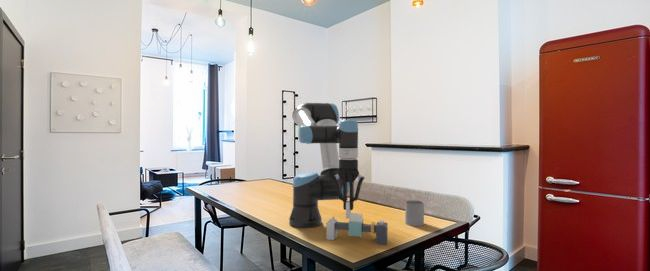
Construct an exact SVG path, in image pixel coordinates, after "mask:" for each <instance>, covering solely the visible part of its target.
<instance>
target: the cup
mask: <svg viewBox="0 0 650 271" xmlns="http://www.w3.org/2000/svg"><path fill="white" fill-rule="evenodd" d="M404 203H405V205H404V206H405V219H404V220H405V221H404V223H405V224H406V225H408V226H411V227H422V226H424V225H425V202H423V201H421V200H412V199H411V200H406V201H405V202H404Z"/></svg>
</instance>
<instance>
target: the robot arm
mask: <svg viewBox="0 0 650 271" xmlns="http://www.w3.org/2000/svg"><path fill="white" fill-rule="evenodd" d="M339 114H340V113H339V109H338V107H337V105H336V104H335V103H331V102H304V103H302V104H299V105H297V106H296V107H295V108H294V110H293V112H292V119H293V122H294V123H295V124H296V125H297V126H298V141H299V143H300V144H307V145H308V144H309V145H310V144H319V147H320V156H321V165H322V170H321V171H320V172H319V173H318V172H313V171H312V172H311V171H310V172H303V173H300V174H296V175H295V176H294V177H293V178H292V179H293V181H292V209H291V212H290V215H289V218H288V221H289V225H290V226H292V227H294V228H295V227H296V228H300V229H301V228H304V229H307V228H314V227H319V226H320V225H322V223H323V222H322V220H323V219H322V215H321V212H320V209H319V201H333V200H335V201H336V200H339V201H342V202H343V210H344V211H345V219H347V220H350V214H351V213H352V211H353V210H354V202H357V201H358V200H359V196H360V193H361V188H362V185H363V182H364V180H365V175H364V176H362V174H360V172H359V159H358V158H359V124H358V121H357V120H355V119H342V120H340V117H339ZM338 144H339V145H338ZM338 147H339V148H338ZM356 180H358V181H357V185H356V190H355V189H354V188H355V186H354V185H355V181H356ZM354 192H355V194H354ZM348 195H349V198H348ZM348 199H349V200H348Z"/></svg>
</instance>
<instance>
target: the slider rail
mask: <svg viewBox="0 0 650 271" xmlns="http://www.w3.org/2000/svg"><path fill="white" fill-rule="evenodd" d="M388 225H389V224H388V222H385V221H384V220H379V221H377V222H375V221H372V222H371V224H368V223H363V224H362V232H363V233H370V236H375V244H376V245H382V246H383V245H385V246H387V244H388V241H389V240H388V239H389V238H388V237H389V236H388V229H389V226H388ZM338 231H348V232H349V222H344V221H338V219H335V216H332V217H331V218H330V219H329V220H328V221H327V223H326V240H327V241H328V240H329V241H335V239H336V238H337V237H338Z"/></svg>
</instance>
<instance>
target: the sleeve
mask: <svg viewBox="0 0 650 271" xmlns="http://www.w3.org/2000/svg"><path fill="white" fill-rule="evenodd" d="M363 217H364V216H363V213H360V212H351V214H350V219H349V221H348V223H349V231H348V236H352V237H353V236H355V237H362V236H363V234H364V232H362V224H364V219H363Z"/></svg>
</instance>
